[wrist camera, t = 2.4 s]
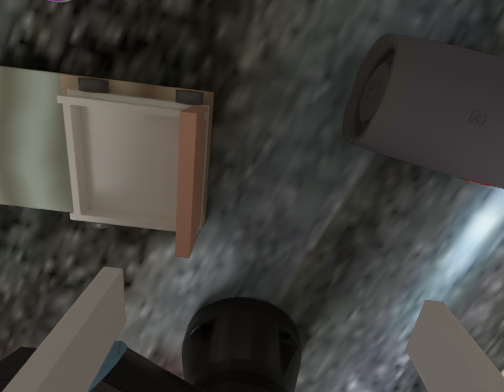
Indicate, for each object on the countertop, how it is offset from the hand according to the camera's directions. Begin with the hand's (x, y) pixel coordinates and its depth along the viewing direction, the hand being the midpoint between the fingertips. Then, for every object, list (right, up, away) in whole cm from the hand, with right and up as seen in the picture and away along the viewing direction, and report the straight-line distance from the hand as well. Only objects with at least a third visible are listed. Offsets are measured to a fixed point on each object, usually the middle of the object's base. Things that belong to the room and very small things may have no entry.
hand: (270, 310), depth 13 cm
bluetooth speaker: (+19, +12, +17) cm, 28 cm away
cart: (-11, +8, +18) cm, 22 cm away
